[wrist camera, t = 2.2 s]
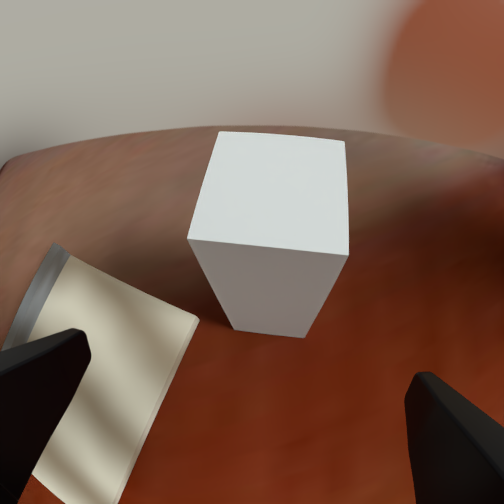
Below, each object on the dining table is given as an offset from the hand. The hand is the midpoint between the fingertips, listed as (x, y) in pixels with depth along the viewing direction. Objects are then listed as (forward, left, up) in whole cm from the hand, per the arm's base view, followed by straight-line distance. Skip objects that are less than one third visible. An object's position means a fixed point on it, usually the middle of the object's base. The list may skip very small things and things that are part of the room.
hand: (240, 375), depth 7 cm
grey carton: (+6, +1, -12) cm, 13 cm away
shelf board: (-6, +11, -12) cm, 17 cm away
